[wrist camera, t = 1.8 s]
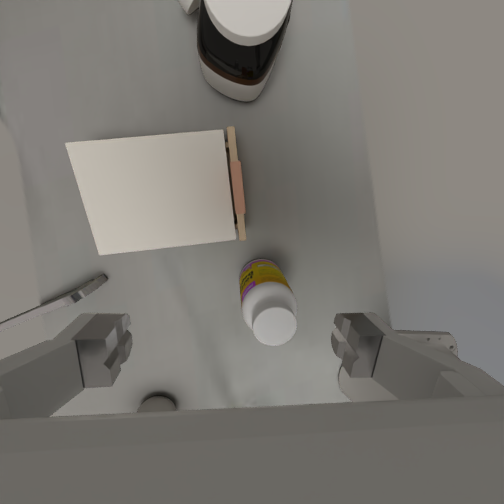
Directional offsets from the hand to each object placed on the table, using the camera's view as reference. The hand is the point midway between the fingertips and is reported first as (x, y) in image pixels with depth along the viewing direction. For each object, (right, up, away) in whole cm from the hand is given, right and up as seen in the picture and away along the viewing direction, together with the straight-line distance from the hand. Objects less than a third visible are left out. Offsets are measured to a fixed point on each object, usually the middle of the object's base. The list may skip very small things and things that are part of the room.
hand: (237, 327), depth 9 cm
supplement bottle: (+2, -1, +27) cm, 27 cm away
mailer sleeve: (-10, +11, +22) cm, 27 cm away
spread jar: (-2, +28, +18) cm, 33 cm away
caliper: (-30, -5, +26) cm, 40 cm away
